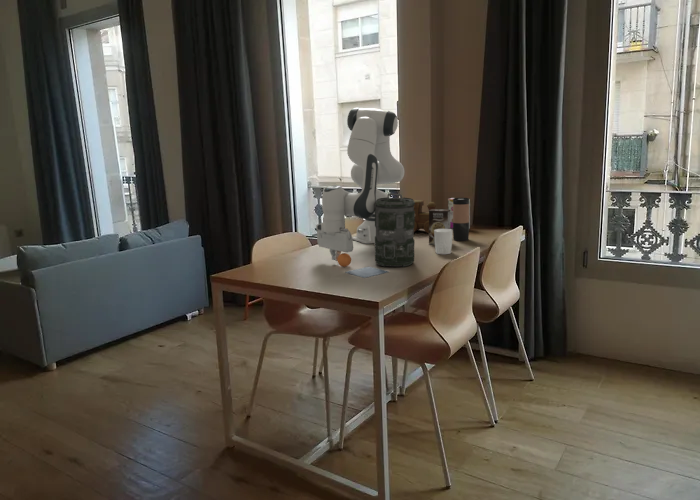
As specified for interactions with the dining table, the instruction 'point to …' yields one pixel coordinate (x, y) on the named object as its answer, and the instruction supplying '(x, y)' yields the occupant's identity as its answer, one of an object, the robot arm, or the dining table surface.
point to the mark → (366, 272)
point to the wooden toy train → (422, 215)
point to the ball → (344, 260)
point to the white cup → (443, 241)
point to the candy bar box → (450, 207)
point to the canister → (394, 231)
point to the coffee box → (438, 222)
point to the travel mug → (460, 219)
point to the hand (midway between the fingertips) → (335, 260)
